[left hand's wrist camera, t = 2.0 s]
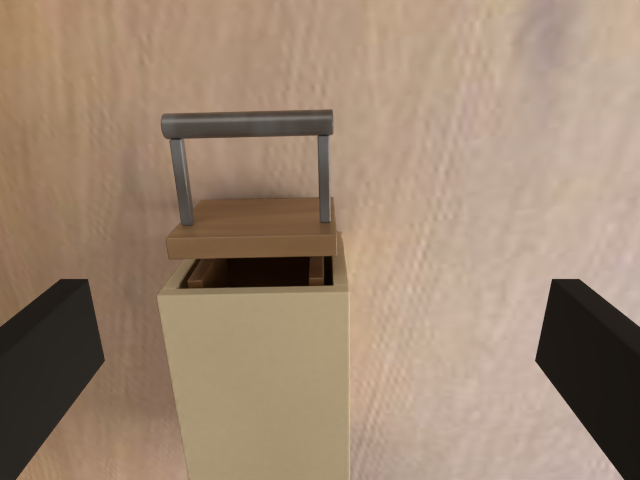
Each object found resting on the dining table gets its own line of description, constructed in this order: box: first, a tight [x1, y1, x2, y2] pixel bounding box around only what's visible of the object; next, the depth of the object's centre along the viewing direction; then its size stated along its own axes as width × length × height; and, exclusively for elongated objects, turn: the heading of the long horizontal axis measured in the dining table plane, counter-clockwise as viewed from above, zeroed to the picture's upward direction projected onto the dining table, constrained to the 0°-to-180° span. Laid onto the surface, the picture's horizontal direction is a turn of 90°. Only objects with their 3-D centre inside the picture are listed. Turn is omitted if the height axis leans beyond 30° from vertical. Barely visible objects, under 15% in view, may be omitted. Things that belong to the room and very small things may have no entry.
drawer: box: [161, 110, 337, 289], centre depth 27 cm, size 22×9×7 cm, turn 1°
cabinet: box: [156, 232, 350, 480], centre depth 30 cm, size 17×10×9 cm, turn 1°
